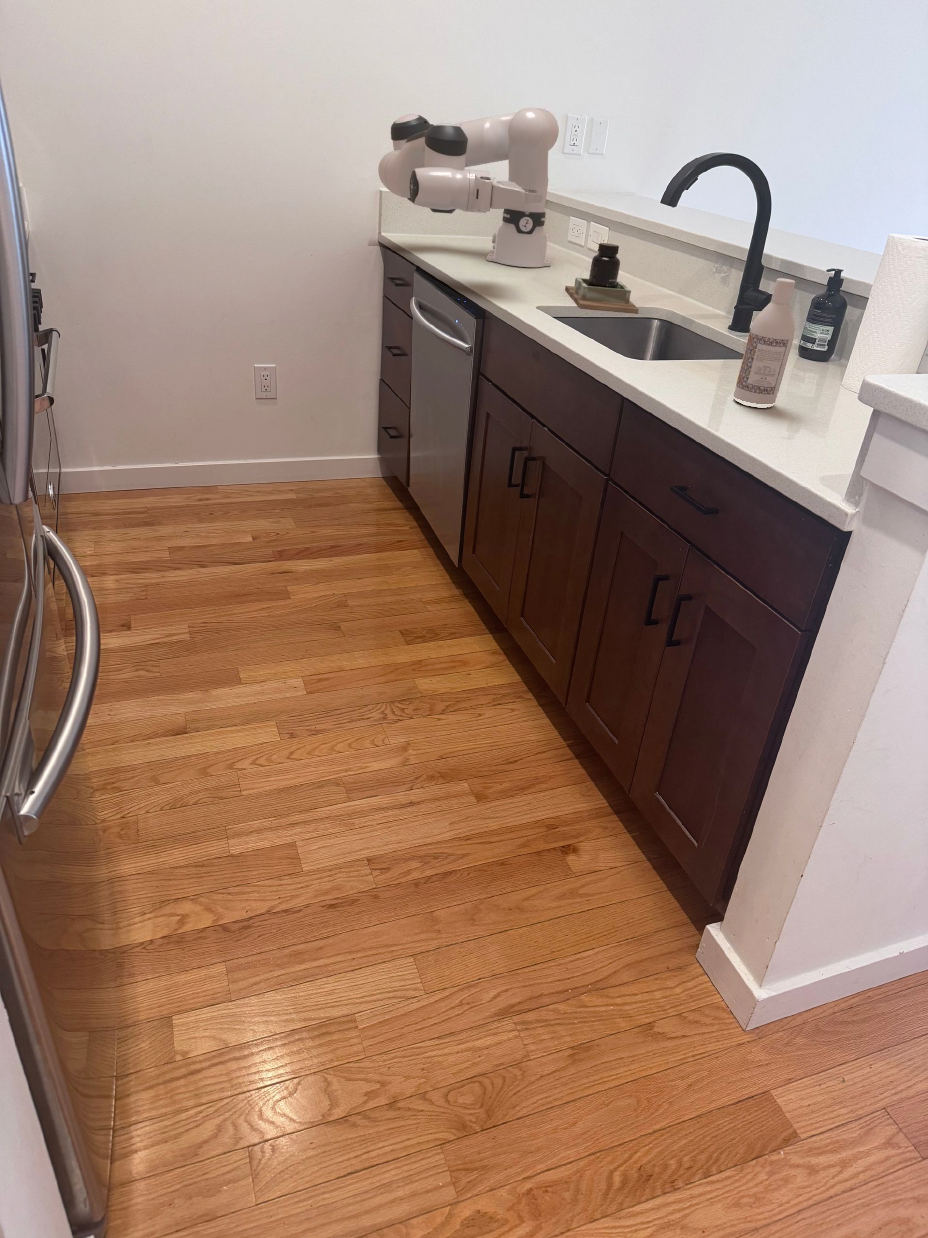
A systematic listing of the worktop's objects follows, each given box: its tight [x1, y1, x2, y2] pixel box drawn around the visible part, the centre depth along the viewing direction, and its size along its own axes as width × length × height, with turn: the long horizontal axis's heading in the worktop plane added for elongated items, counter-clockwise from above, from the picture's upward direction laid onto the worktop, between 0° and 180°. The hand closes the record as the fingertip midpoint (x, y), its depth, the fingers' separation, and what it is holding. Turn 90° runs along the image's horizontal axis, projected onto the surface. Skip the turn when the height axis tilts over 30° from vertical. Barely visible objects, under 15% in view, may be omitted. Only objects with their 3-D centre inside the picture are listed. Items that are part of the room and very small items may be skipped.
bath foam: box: [733, 277, 796, 404], centre depth 144 cm, size 7×7×20 cm
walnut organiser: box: [564, 277, 640, 314], centre depth 215 cm, size 22×14×4 cm, turn 4°
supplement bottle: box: [588, 242, 621, 289], centre depth 212 cm, size 7×7×12 cm
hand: (539, 195), depth 204 cm, fingers open, 8 cm apart
